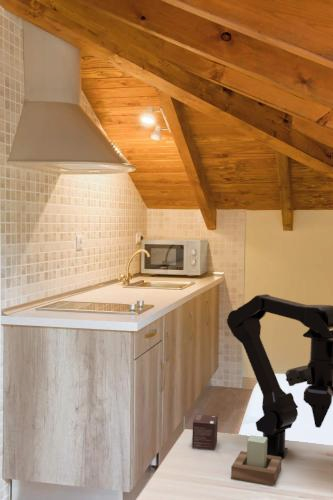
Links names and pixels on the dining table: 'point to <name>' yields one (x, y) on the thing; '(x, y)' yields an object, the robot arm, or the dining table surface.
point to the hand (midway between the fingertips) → (319, 421)
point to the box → (204, 432)
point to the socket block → (256, 470)
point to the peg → (257, 451)
